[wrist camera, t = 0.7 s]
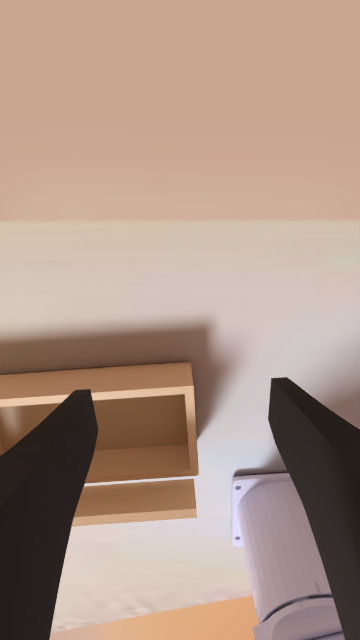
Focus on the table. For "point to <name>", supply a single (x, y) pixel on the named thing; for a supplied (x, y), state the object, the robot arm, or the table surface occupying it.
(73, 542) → the table surface
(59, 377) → the carton
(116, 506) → the lid flap
